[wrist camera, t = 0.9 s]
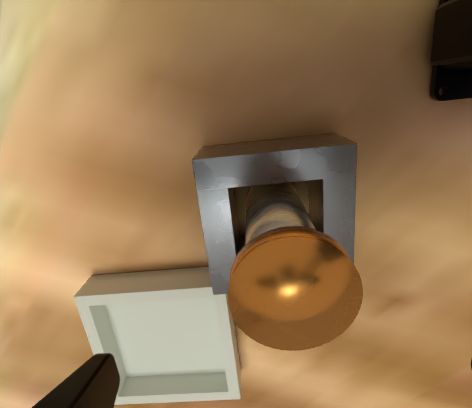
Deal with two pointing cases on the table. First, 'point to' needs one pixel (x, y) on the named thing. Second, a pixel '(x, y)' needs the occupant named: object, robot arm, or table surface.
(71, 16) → the table surface
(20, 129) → the table surface
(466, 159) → the table surface
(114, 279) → the tray
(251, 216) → the pin
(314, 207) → the bracket
